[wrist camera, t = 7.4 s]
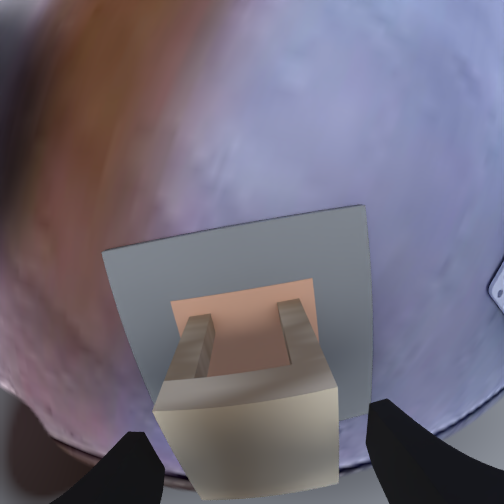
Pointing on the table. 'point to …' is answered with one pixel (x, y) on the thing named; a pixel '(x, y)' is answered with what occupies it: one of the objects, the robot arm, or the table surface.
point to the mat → (253, 296)
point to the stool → (252, 415)
